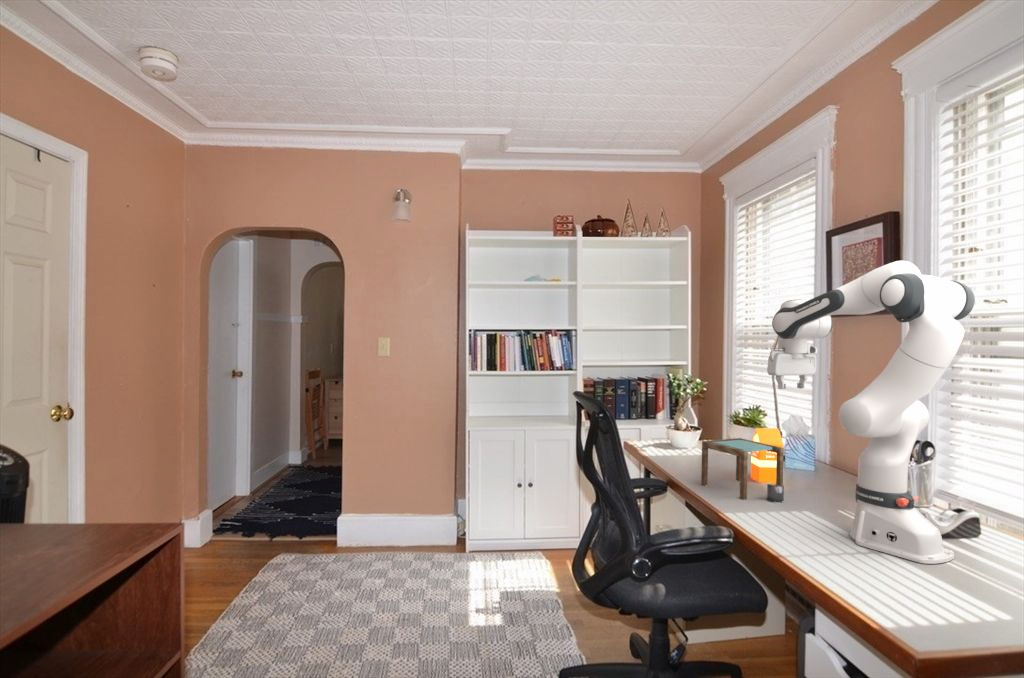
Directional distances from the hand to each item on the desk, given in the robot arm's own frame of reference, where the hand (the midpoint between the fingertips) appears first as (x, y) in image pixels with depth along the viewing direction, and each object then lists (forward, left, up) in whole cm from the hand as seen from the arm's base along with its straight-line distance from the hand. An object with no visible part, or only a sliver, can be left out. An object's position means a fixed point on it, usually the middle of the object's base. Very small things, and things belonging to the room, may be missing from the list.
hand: (791, 388), depth 185 cm
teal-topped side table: (+14, +7, -37) cm, 40 cm away
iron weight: (0, +7, -37) cm, 38 cm away
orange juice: (+19, -12, -37) cm, 44 cm away
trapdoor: (+14, +7, -22) cm, 27 cm away
